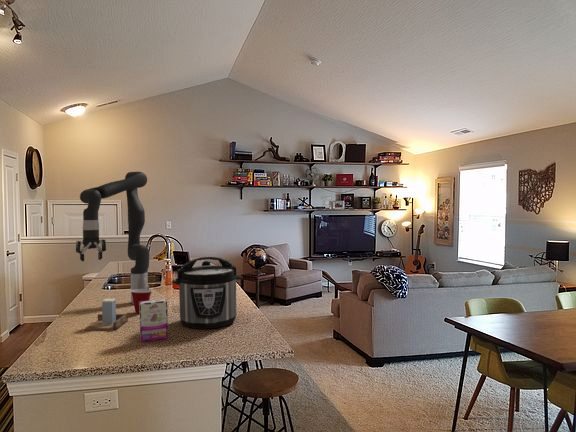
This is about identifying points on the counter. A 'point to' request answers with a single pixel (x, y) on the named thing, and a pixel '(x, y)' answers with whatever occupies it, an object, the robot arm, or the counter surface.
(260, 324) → the counter surface
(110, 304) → the block
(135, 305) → the plastic cup
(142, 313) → the candy bar box
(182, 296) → the pressure cooker
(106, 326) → the shallow wooden tray
